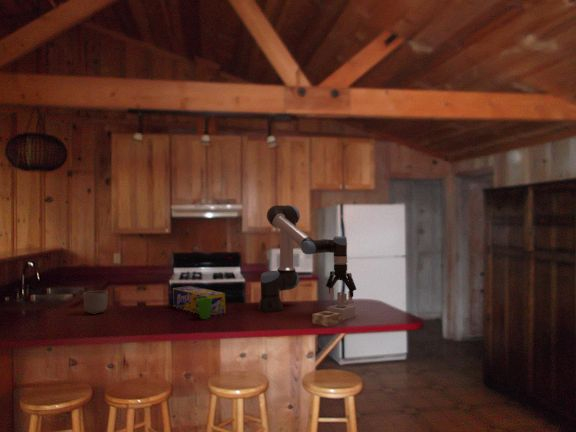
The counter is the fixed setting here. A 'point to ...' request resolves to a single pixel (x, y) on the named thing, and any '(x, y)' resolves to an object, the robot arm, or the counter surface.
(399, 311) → the counter surface
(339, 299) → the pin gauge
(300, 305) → the counter surface
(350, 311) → the tan holed block
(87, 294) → the planter
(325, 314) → the tan square block
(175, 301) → the box
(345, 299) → the pipe connector
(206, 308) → the cup
